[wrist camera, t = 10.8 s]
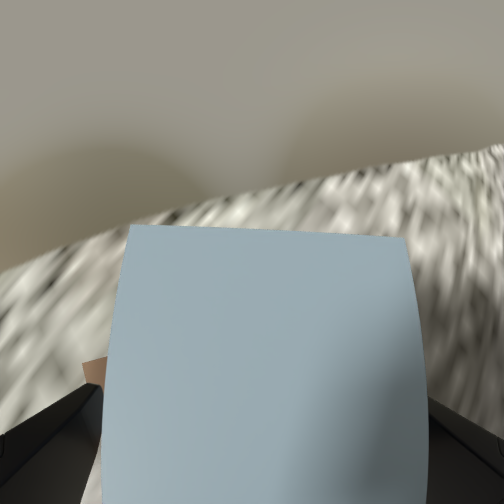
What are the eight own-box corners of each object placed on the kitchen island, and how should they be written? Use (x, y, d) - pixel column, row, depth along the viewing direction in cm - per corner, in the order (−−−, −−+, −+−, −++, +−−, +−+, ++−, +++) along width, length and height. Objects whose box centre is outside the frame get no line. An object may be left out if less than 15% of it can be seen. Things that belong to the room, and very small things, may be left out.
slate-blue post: (290, 446, 14) (425, 508, 3) (193, 444, 14) (103, 519, 3) (290, 356, 17) (404, 237, 6) (196, 353, 16) (131, 224, 5)
